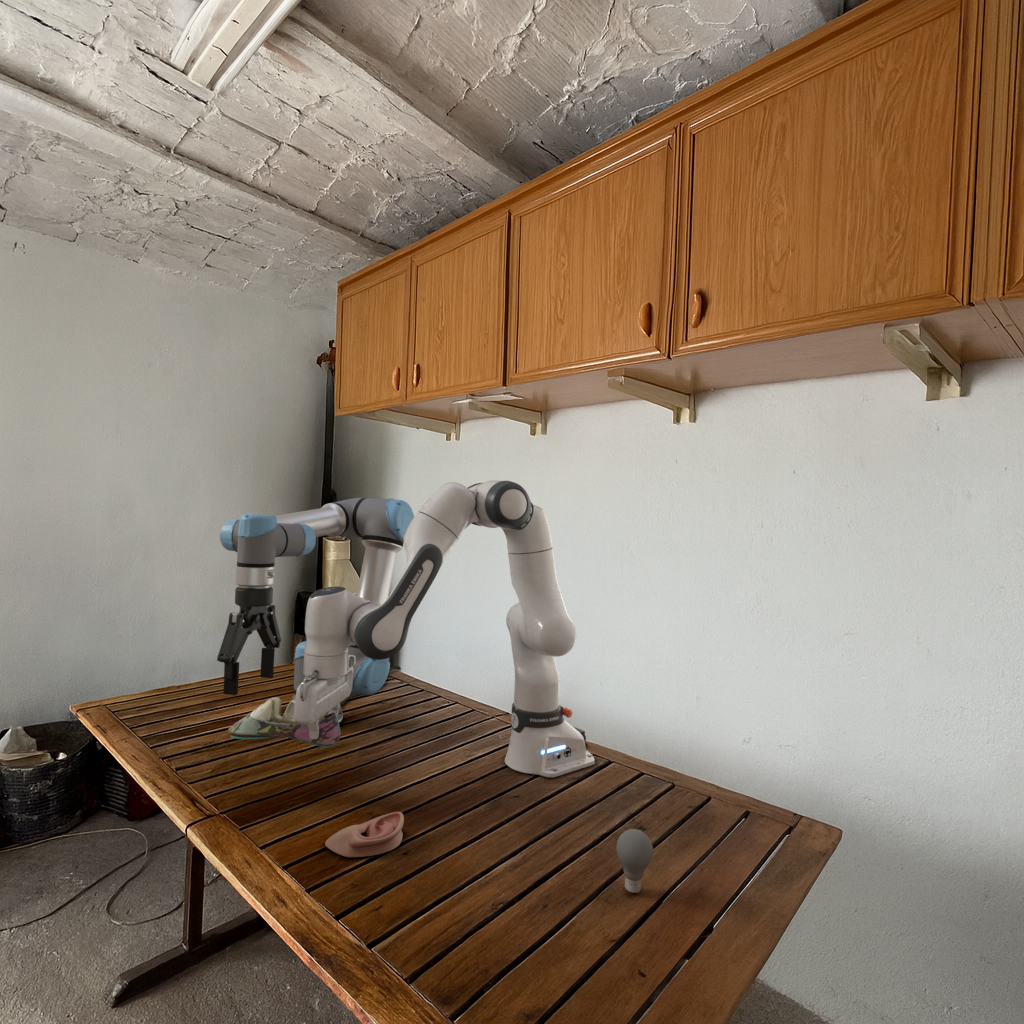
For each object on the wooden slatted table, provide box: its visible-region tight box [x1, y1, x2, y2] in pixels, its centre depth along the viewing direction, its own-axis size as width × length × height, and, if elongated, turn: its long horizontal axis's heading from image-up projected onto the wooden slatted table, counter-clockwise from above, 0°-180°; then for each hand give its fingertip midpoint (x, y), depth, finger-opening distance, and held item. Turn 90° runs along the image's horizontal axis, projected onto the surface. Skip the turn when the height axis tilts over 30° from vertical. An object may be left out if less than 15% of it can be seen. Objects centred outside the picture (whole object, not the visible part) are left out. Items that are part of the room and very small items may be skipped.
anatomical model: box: [324, 811, 405, 858], centre depth 117 cm, size 13×4×12 cm
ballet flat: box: [227, 696, 342, 748], centre depth 134 cm, size 8×24×9 cm, turn 81°
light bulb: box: [615, 828, 654, 894], centre depth 106 cm, size 6×6×10 cm
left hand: (249, 685), depth 135 cm, fingers open, 13 cm apart
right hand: (323, 731), depth 132 cm, fingers closed on ballet flat, 6 cm apart
